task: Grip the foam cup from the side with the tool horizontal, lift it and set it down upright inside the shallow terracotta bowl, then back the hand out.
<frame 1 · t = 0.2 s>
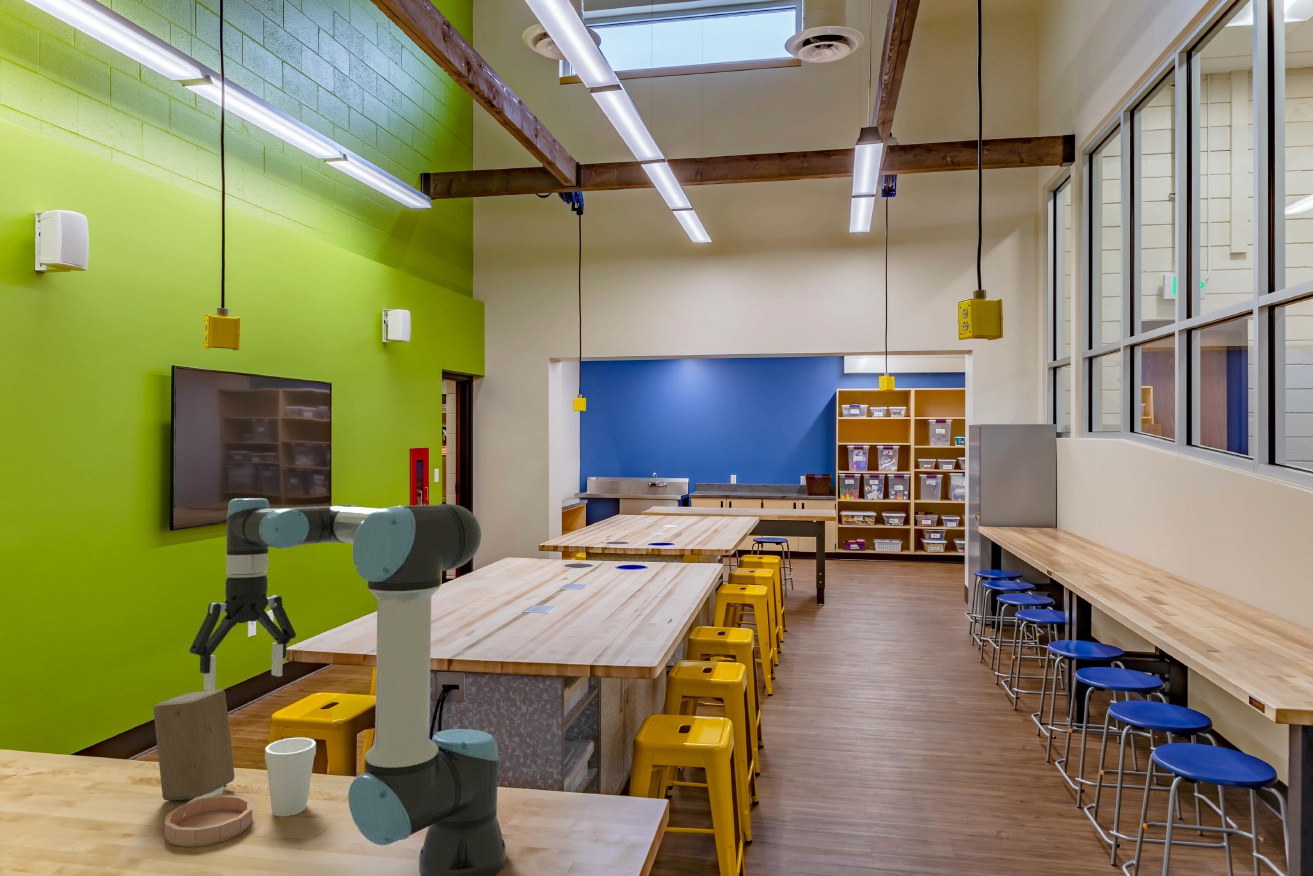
hand: (244, 682, 158), 27 cm above the table, tool pointing down, fingers open, 13 cm apart
bowl: (209, 828, 154), on the table
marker: (204, 805, 164), on the table, touching bowl, wooden block
foam cup: (289, 810, 162), on the table
wooden block: (200, 792, 168), point 1 cm above the table, touching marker
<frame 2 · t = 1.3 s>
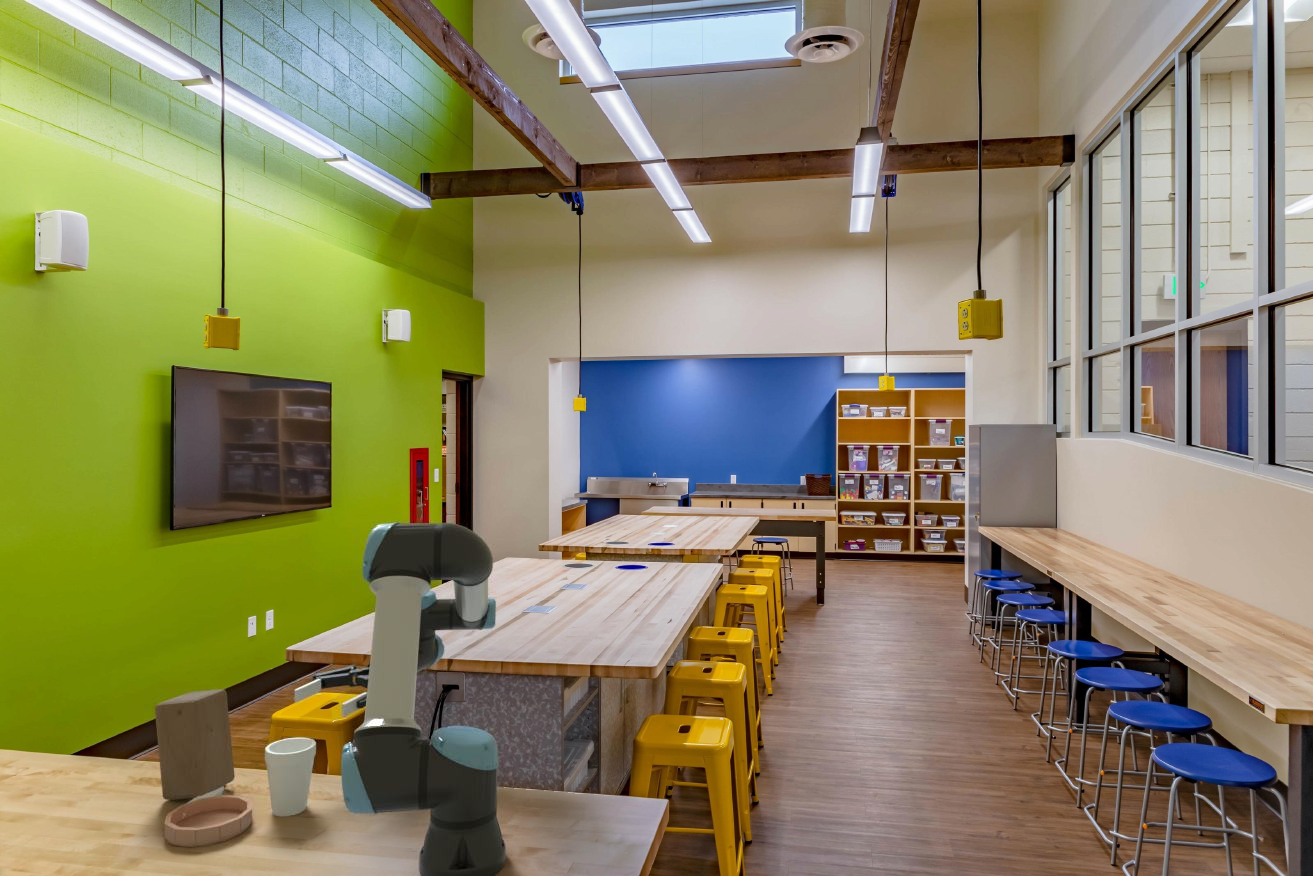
hand: (318, 703, 167), 20 cm above the table, tool horizontal, fingers open, 13 cm apart
wooden block: (200, 791, 168), point 1 cm above the table, touching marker
everything else where it was.
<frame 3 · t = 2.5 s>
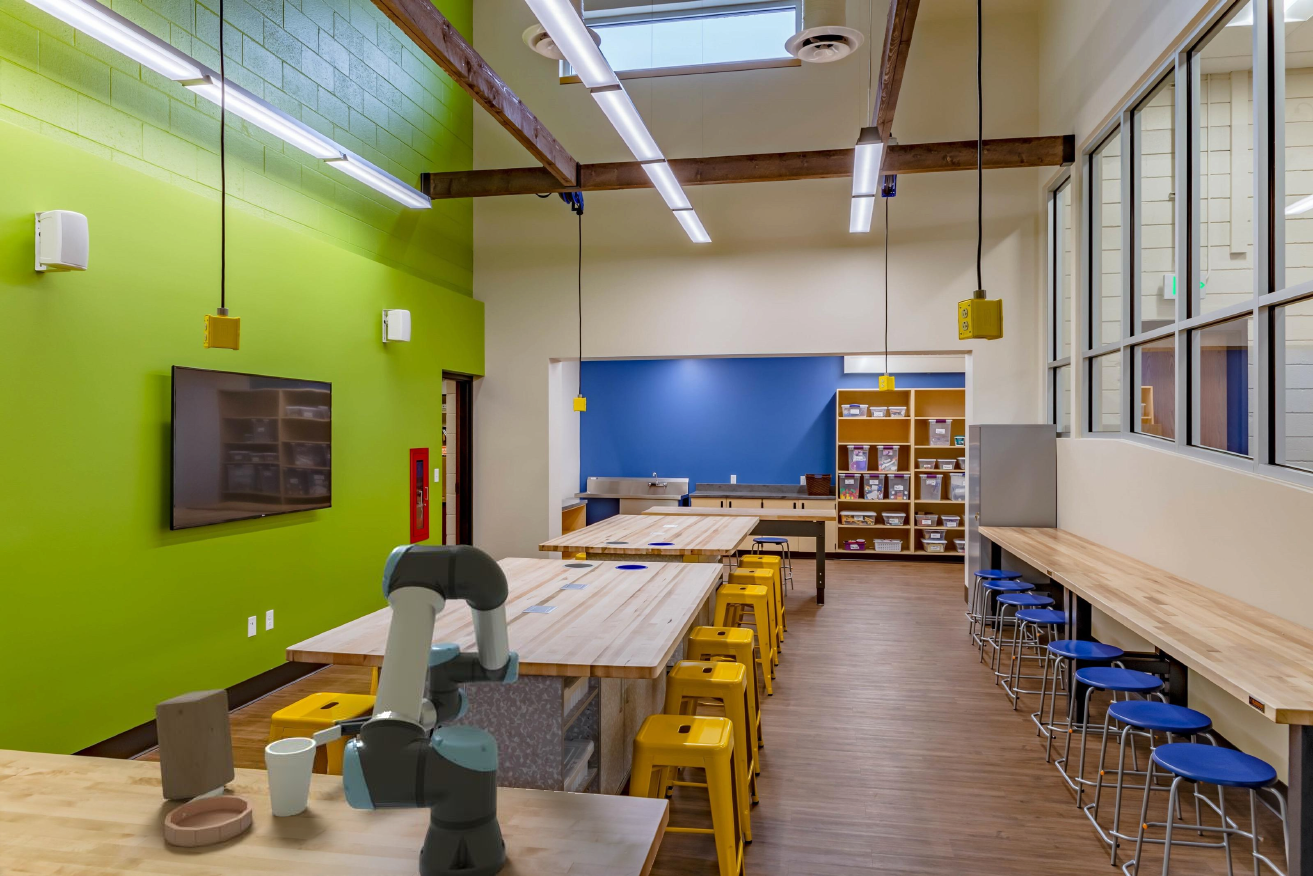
hand: (332, 747, 171), 10 cm above the table, tool horizontal, fingers open, 13 cm apart
nothing on the table moved.
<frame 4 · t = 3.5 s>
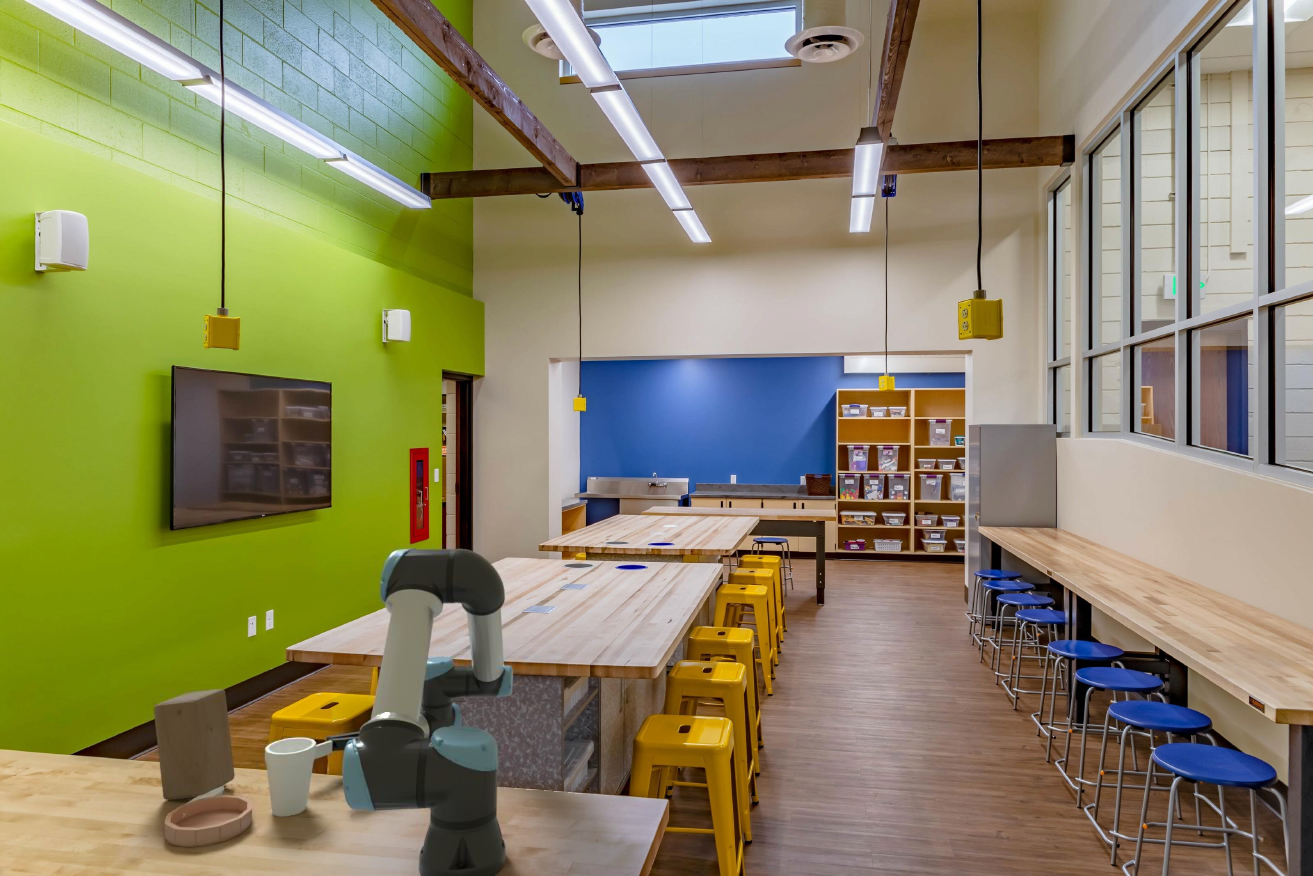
hand: (323, 762, 169), 7 cm above the table, tool horizontal, fingers open, 13 cm apart
nothing on the table moved.
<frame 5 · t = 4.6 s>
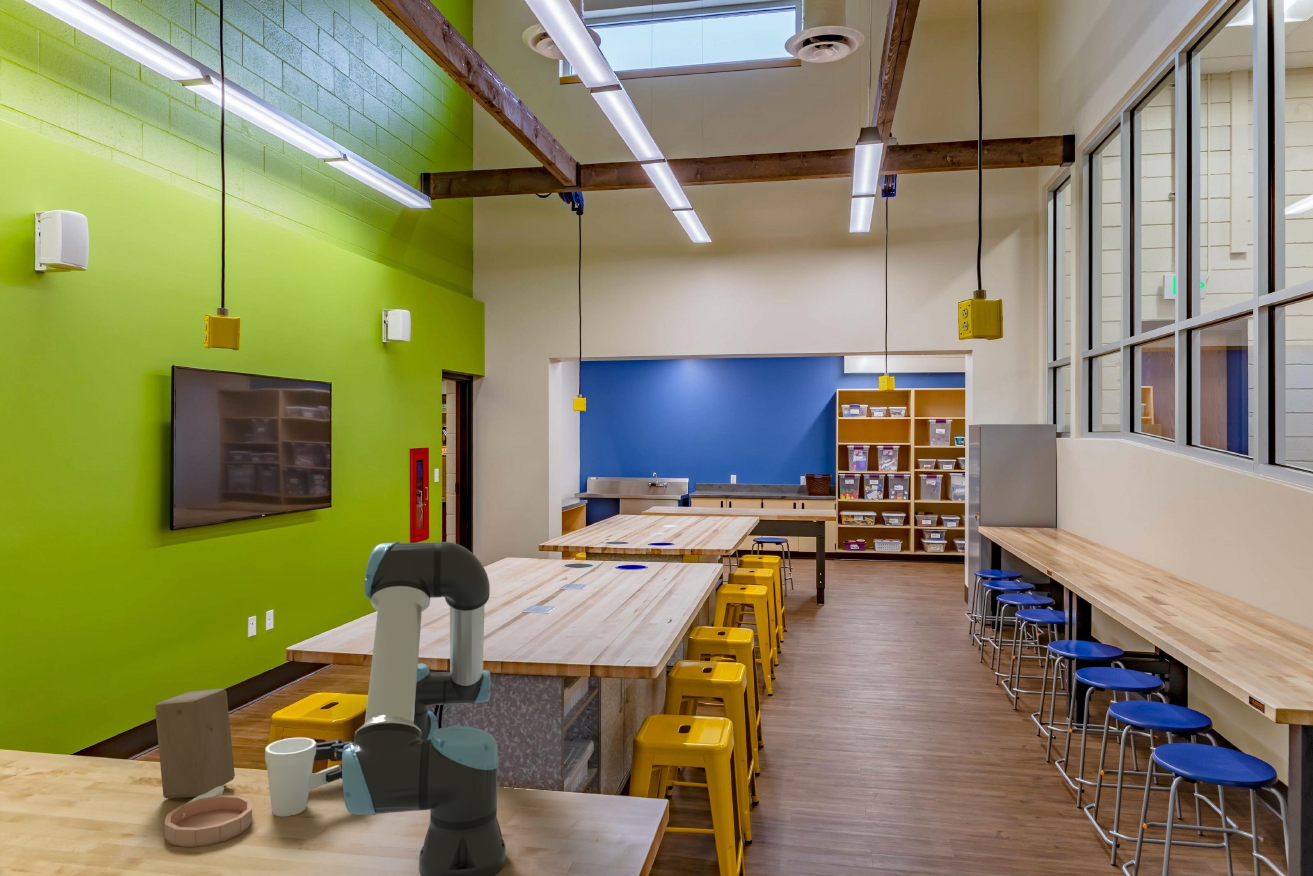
hand: (289, 774, 163), 7 cm above the table, tool horizontal, fingers open, 13 cm apart
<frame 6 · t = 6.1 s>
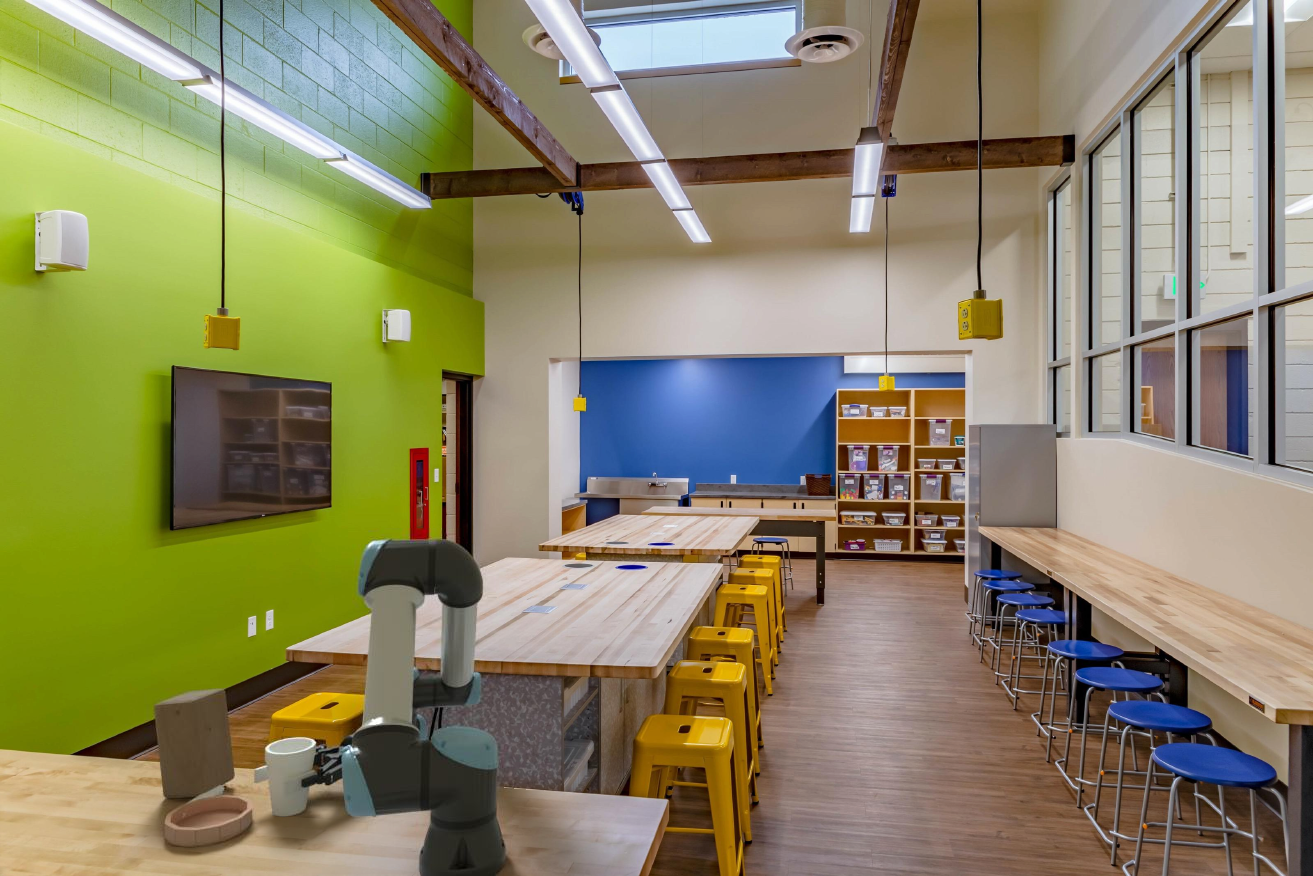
hand: (269, 782, 159), 7 cm above the table, tool horizontal, fingers closed on foam cup, 9 cm apart
foam cup: (289, 810, 162), on the table, touching gripper
when the fingers open (9 cm above the table, at t = 10.6 s): foam cup drops 1 cm, resting on bowl.
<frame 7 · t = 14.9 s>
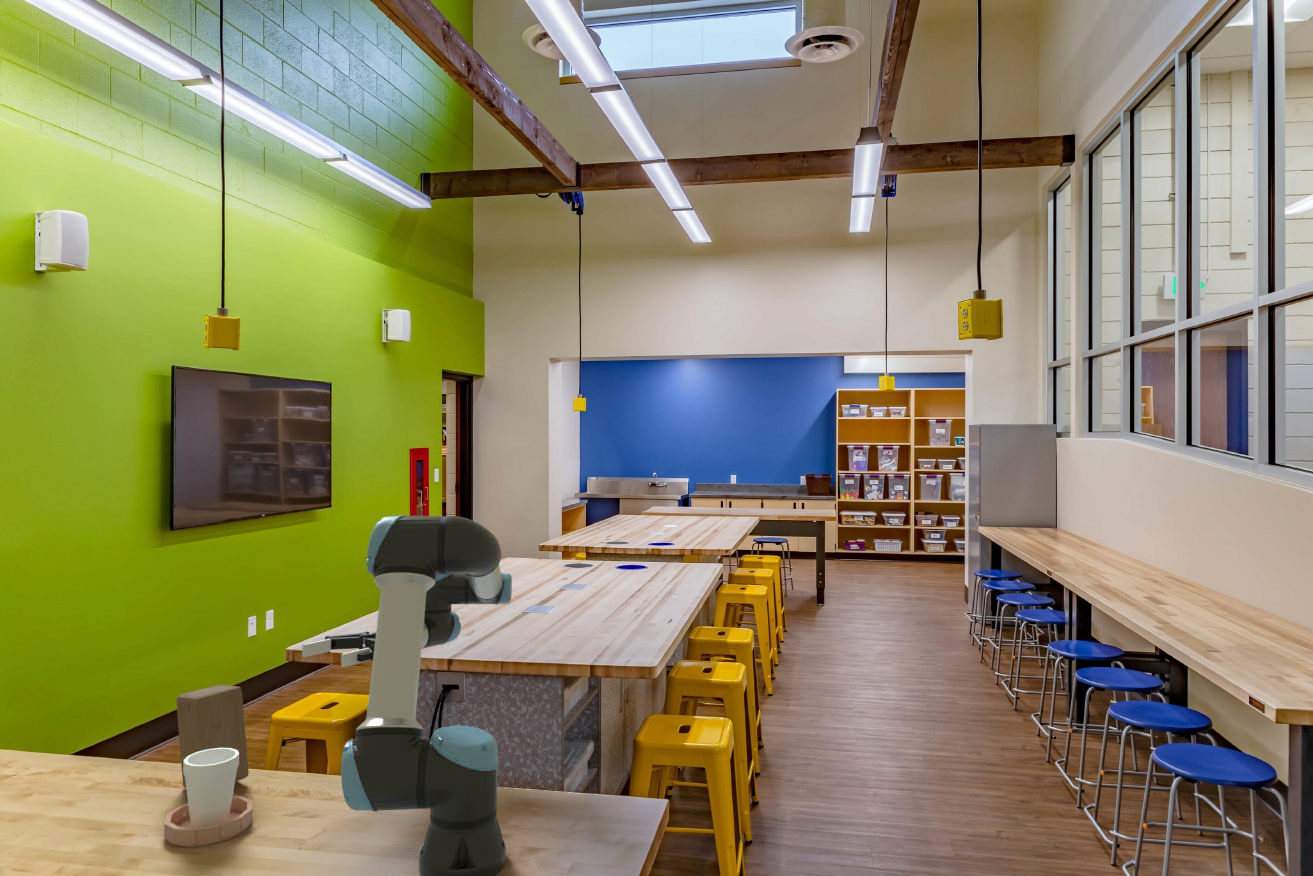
hand: (322, 655, 169), 30 cm above the table, tool horizontal, fingers open, 13 cm apart
foam cup: (209, 825, 154), point 1 cm above the table, touching bowl
wooden block: (216, 784, 173), point 1 cm above the table, touching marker
everything else where it was.
at the end: foam cup inside the target area on the bowl (0.1 cm from its centre), point 0.6 cm above the bowl's base; foam cup tilted 0°; the gripper is holding nothing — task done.
